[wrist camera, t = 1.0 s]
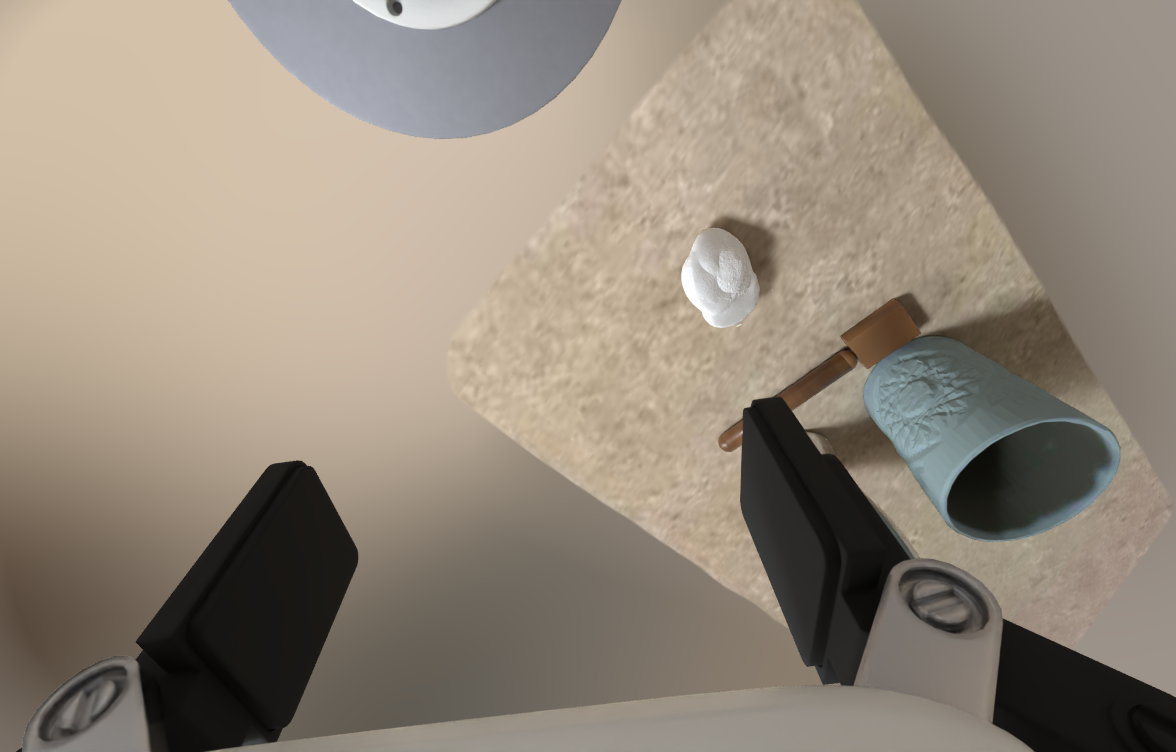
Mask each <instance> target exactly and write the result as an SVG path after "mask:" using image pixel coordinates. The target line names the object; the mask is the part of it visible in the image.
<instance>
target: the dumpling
mask: <svg viewBox="0 0 1176 752" xmlns="http://www.w3.org/2000/svg"><path fill="white" fill-rule="evenodd" d="M751 267H752V266H751V264H750V261H749V257H748V255H747V252H746V249H745V248H744V246H743V245H742V243H741V242H740V241H739V240H738V239H737V238H736V237H734V236H733V235H732V234H731V233H729V232H727V231H725V230H723V229H720V228H708V229H705V230H703V231H702V232H701V233H700V234H699V235H698V236H697V238H696V240H695V242H694V244H693V246H692V249H691V253H690V255H689V257H688V258H687V259H686V261H685V263H684V265H683V267H682V275H681V277H682V284H683V288H684V291H685V293H686V295H687V297H688V298H689V300H690V301H691V302H692V303H693V304H694V305H695V306H696V307H697V308H698V309H700V310H701V311H702V313H703V316H704V318H705V319H706V321H707V322H708V323H709V324H711V325H712V326H714V327H719V328H724V327H729V326H732V325H734V324H736V323H738V322H740V321H742V320H743V319H744V318H745V317H746V316H747V315H748V314H749V313H751V311H752V310H753V308H754V306H755V305H756V303H757V300H758V296H759V290H760V288H759V284H758V281H757V277H756V274H755V273H754V272H753V271H752V268H751ZM772 290H773V289H772ZM740 325H743V324H739V325H737V326H736V327H738V326H740Z"/></svg>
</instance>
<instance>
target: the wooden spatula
mask: <svg viewBox="0 0 1176 752" xmlns="http://www.w3.org/2000/svg"><path fill="white" fill-rule="evenodd" d="M920 333H921V332H920V331H919V329H918V328H917V326H916V325H915V323H914V322H913V320H912V319H911V317H910V316H909V314H908V313H907V311H906V310H905V308H904V307H903V305H902V304H900V303H899V302H897V301H896V300H894V299H892V300H890V301H889V302H888V303H886V304H885V305H883V306H882V307H881V308H879V309H878V310H876V311H875V312H874V313H872V314H871V315H869V316H868V317H867V318H865V319H864V320H862V321H861V322H860V323H858V324H857V325H855V326H854V327H853V328H851V329H850V330H848V331H847V332H846V333H844V334H843V335H841V338H842V340H843V341H844V342H845V344H846V345H847V346H848V347H849V349H850V350H851V351H852V352H851V351H848V350H844V351H841V352H839V353H837V354H836V355H834V356H833V357H832V358H830V359H829V360H827V361H826V362H824V363H823V364H822V365H820V366H819V367H817V368H816V369H815V370H813V371H812V372H810V373H809V374H807V375H806V376H805V377H803V378H802V379H800V380H799V381H797V382H796V383H795V384H793V385H792V386H790V387H789V388H788V389H786V390H785V391H783V392H782V393H780V394H779V395H778V396H776V397H782V398H783V399H784V401H785V402H786V403H787V405H788V406H789V408H790V409H791V411H792V410H794V409H795V408H797V407H798V406H800V405H801V404H802V403H804V402H805V401H807V400H808V399H810V398H811V397H813V396H814V395H816V394H817V393H819V392H820V391H821V390H823V389H824V388H826V387H827V386H829V385H830V384H832V383H833V382H835V381H836V380H838V379H839V378H840V377H842V376H843V375H845V374H846V373H848V372H849V371H851V370H852V369H853V368H855V366H856V365H857V359H858V361H859V362H860V363H861V364H862V365H863V366H864V367H865V368H866V369H869V368H870V367H872V366H873V365H875V364H876V363H878V362H879V361H881V360H882V359H884V358H885V357H887V356H888V355H889V354H891V353H892V352H894V351H895V350H897V349H898V348H900V347H901V346H903V345H904V344H906V343H907V342H909V341H910V340H912V339H913V338H915V337H916V336H918V335H919V334H920ZM742 428H743V420H742V421H741V422H739V423H738V424H736V425H735V426H733V427H732V428H731V429H729V430H728V431H726V432H725V433H724V434H722V435H721V436H720V438H719V441H718V443H719V446H720V448H721V449H722V450H724V451H726V452H731V451H734V450H735V449H737V448H738V447H740V446H741V445H742Z"/></svg>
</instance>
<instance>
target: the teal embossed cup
mask: <svg viewBox="0 0 1176 752" xmlns="http://www.w3.org/2000/svg"><path fill="white" fill-rule="evenodd" d="M863 397H864V403H865V406H866V409H867V411H868V413H869V414H870V416H871V417H872V419H873V420H874V421H875V423H876V424H877V426H878V427H879V428H880V430H881V431H882V432H883V433H884V434H886V435H887V436H888V437H889V439H890V441H891V442H892V444H893V446H894V447H895V449H896V451H897V453H898V455H899V456H900V457H902V458H903V459H904V460H905V461H906V462H907V464H908V467H909V469H910V471H911V472H912V474H913V476H914V477H915V479H916V480H917V482H918V483H919V484H920V486H921V488H922V489H923V491H924V492H925V493H926V495H927V496H928V498H929V499H930V500H931V502H932V503H933V505H934V506H935V507H936V509H937V510H938V512H939V513H940V515H941V516H942V518H943V519H944V521H945V522H946V524H947V525H948V526H949V527H950V528H952V529H953V530H955V531H956V532H957V533H960V534H962V535H964V536H967V537H969V538H971V539H974V540H981V541H988V542H1000V541H1011V540H1017V539H1022V538H1026V537H1029V536H1033V535H1036V534H1039V533H1042V532H1044V531H1047V530H1049V529H1051V528H1053V527H1056V526H1058V525H1060V524H1062V523H1064V522H1066V521H1068V520H1069V519H1071V518H1072V517H1074V516H1076V515H1077V514H1079V513H1080V512H1081V511H1083V510H1084V509H1085V508H1087V507H1088V506H1089V505H1090V504H1092V503H1093V502H1094V501H1095V500H1096V499H1097V498H1098V497H1099V496H1100V495H1101V494H1102V492H1103V491H1104V490H1105V489H1106V488H1107V487H1108V485H1109V484H1110V482H1111V481H1112V479H1113V477H1114V476H1115V474H1116V472H1117V469H1118V465H1119V462H1120V446H1119V443H1118V441H1117V439H1116V437H1115V435H1114V433H1113V432H1112V431H1111V430H1110V429H1108V428H1107V427H1106V426H1104V425H1102V424H1100V423H1099V422H1097V421H1095V420H1094V419H1092V418H1090V417H1089V416H1087V415H1085V414H1084V413H1082V412H1080V411H1079V410H1077V409H1075V408H1073V407H1071V406H1069V405H1068V404H1066V403H1064V402H1062V401H1061V400H1059V399H1058V398H1056V397H1054V396H1053V395H1051V394H1049V393H1048V392H1046V391H1044V390H1043V389H1041V388H1039V387H1038V386H1036V385H1034V384H1032V383H1031V382H1029V381H1027V380H1025V379H1024V378H1022V377H1021V376H1018V375H1016V374H1011V373H1010V372H1009V371H1008V370H1007V369H1006V368H1005V367H1003V366H1001V365H1000V364H998V363H996V362H994V361H992V360H991V359H989V358H987V357H985V356H983V355H981V354H980V353H978V352H976V351H974V350H972V349H971V348H970V347H968V346H966V345H965V344H963V343H961V342H959V341H957V340H954V339H951V338H947V337H942V336H929V337H923V338H919V339H915V340H912V341H909V342H907V343H906V344H904V345H903V346H901V347H900V348H898V349H897V350H895V351H894V352H892V353H891V354H889V355H888V356H887V357H885V358H884V359H882V360H881V361H880V362H879V363H878V364H877V365H876V366H875V367H874V369H873V370H872V372H871V373H870V375H869V377H868V379H867V381H866V384H865V387H864V396H863Z"/></svg>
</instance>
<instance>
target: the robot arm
mask: <svg viewBox="0 0 1176 752" xmlns="http://www.w3.org/2000/svg"><path fill="white" fill-rule="evenodd" d="M353 1H354V2H355V3H356V4H358V5H360V6H361V7H363V8H364V9H366V10H368V11H369V12H371V13H372V14H374V15H376V16H377V17H380V18H382V19H385V20H387V21H389V22H392V23H395V24H397V25H400V26H404V27H408V28H413V29H424V30H439V29H445V28H451V27H456V26H459V25H461V24H463V23H466V22H468V21H470V20H473V19H475V18H476V17H478V16H479V15H480V14H482V13H483V12H484V11H486V10H487V9H488V8H490V7H491V6H492V5H493V4H494V3H495V2H496V1H497V0H353ZM398 2H399V3H401V5H402V12H401V13H397V12H396V10H395V4H396V3H398ZM740 503H741V509H742V513H743V517H744V519H745V522H746V524H747V526H748V529H749V531H750V534H751V536H752V539H753V541H754V543H755V546H756V548H757V551H758V553H759V556H760V558H761V561H762V563H763V565H764V568H765V570H766V573H767V575H768V578H769V580H770V582H771V585H772V587H773V590H774V592H775V595H776V597H777V599H778V602H779V604H780V607H781V609H782V612H783V614H784V617H785V619H786V621H787V624H788V626H789V629H790V631H791V634H792V636H793V638H794V641H795V643H796V646H797V648H798V651H799V653H800V655H801V658H802V660H803V662H804V663H805V665H806V666H807V667H809V666H815V667H816V670H817V672H818V674H819V677H820V679H821V681H822V683H823V685H808V686H807V685H805V686H782V687H769V688H758V689H746V690H735V691H724V692H714V693H703V694H693V695H682V696H673V697H664V698H654V699H646V700H636V701H628V702H618V703H609V704H600V705H591V706H582V707H573V708H564V709H555V710H546V711H538V712H529V713H520V714H511V715H502V716H494V717H486V718H476V719H468V720H459V721H450V722H442V723H434V724H425V725H416V726H408V727H400V728H390V729H382V730H374V731H365V732H357V733H349V734H340V735H333V736H325V737H316V738H308V739H299V740H291V741H283V742H277V740H278V738H279V735H280V733H281V731H282V729H283V728H284V727H286V726H287V725H288V724H289V723H290V722H291V720H292V718H293V716H294V714H295V712H296V709H297V707H298V705H299V702H300V700H301V697H302V695H303V693H304V690H305V688H306V686H307V683H308V681H309V678H310V676H311V674H312V671H313V669H314V667H315V664H316V661H317V660H318V657H319V655H320V652H321V650H322V648H323V645H324V643H325V641H326V638H327V636H328V633H329V631H330V628H331V626H332V624H333V622H334V619H335V617H336V614H337V612H338V610H339V607H340V605H341V602H342V600H343V597H344V595H345V593H346V591H347V588H348V586H349V584H350V581H351V579H352V576H353V574H354V572H355V569H356V567H357V564H358V551H357V548H356V546H355V544H354V542H353V540H352V538H351V537H350V535H349V533H348V531H347V529H346V527H345V525H344V524H343V522H342V520H341V518H340V516H339V515H338V512H337V510H336V509H335V507H334V505H333V503H332V501H331V500H330V497H329V496H328V494H327V492H326V490H325V488H324V486H323V484H322V483H321V481H320V479H319V477H318V475H317V473H316V471H315V470H314V468H312V467H311V466H307V465H306V464H305V463H304V462H302V461H291V462H284V463H275V464H272V465H270V466H269V467H268V468H267V469H266V470H265V471H264V473H263V474H262V475H261V477H260V478H259V479H258V480H257V482H256V483H255V484H254V486H253V487H252V488H251V490H250V491H249V492H248V494H247V495H246V496H245V498H244V499H243V500H242V502H241V503H240V504H239V506H238V507H237V508H236V510H235V511H234V512H233V514H232V515H231V516H230V518H229V519H228V520H227V521H226V523H225V524H224V526H223V527H222V528H221V529H220V531H219V532H218V533H217V535H216V536H215V537H214V539H213V540H212V541H211V543H210V544H209V545H208V547H207V548H206V549H205V551H204V552H203V553H202V555H201V556H200V557H199V559H198V560H197V561H196V563H195V564H194V565H193V566H192V568H191V569H190V570H189V572H188V573H187V574H186V576H185V577H184V578H183V580H182V581H181V582H180V584H179V585H178V586H177V588H176V589H175V591H174V592H173V593H172V594H171V596H170V597H169V598H168V600H167V601H166V602H165V604H164V605H163V606H162V608H161V609H160V610H159V611H158V613H157V614H156V616H155V617H154V618H153V619H152V621H151V622H150V623H149V625H148V626H147V627H146V629H145V630H144V631H143V633H142V634H141V635H140V637H139V638H138V639H137V641H136V643H137V644H138V645H139V646H140V647H141V648H142V649H143V651H142V652H141V653H140V655H139V656H138V657H137V659H133V658H131V657H129V656H114V657H111V658H108V659H105V660H101V661H99V662H97V663H95V664H93V665H91V666H89V667H87V668H85V669H83V670H82V671H80V672H79V673H77V674H76V675H74V676H73V677H71V678H70V679H68V680H67V681H66V682H65V683H63V684H62V685H61V686H60V687H59V688H58V689H56V690H55V691H54V692H53V693H52V694H51V695H50V696H49V697H48V698H47V699H46V700H45V701H44V702H43V703H42V705H41V706H40V707H39V708H38V709H37V710H36V712H35V714H34V715H33V717H32V718H31V720H30V721H29V723H28V725H27V727H26V730H25V734H24V737H23V744H22V748H21V749H19V750H18V751H16V752H1176V697H1174V696H1172V695H1170V694H1168V693H1166V692H1164V691H1161V690H1159V689H1157V688H1155V687H1152V686H1150V685H1148V684H1146V683H1144V682H1141V681H1139V680H1137V679H1135V678H1133V677H1130V676H1128V675H1126V674H1124V673H1122V672H1120V671H1117V670H1115V669H1113V668H1111V667H1109V666H1106V665H1104V664H1102V663H1100V662H1098V661H1095V660H1093V659H1091V658H1089V657H1087V656H1084V655H1082V654H1080V653H1078V652H1076V651H1073V650H1071V649H1069V648H1067V647H1065V646H1062V645H1060V644H1058V643H1056V642H1054V641H1051V640H1049V639H1047V638H1045V637H1043V636H1040V635H1038V634H1036V633H1034V632H1032V631H1029V630H1027V629H1025V628H1023V627H1021V626H1018V625H1016V624H1014V623H1012V622H1009V621H1007V620H1005V619H1003V618H1002V611H1001V608H1000V606H999V604H998V602H997V600H996V599H995V597H994V595H993V594H992V593H991V592H990V591H989V590H988V589H987V588H986V587H985V585H984V584H983V583H982V582H980V581H979V580H978V579H976V578H975V577H973V576H972V575H970V574H969V573H968V572H966V571H964V570H962V569H960V568H958V567H956V566H953V565H951V564H949V563H945V562H942V561H938V560H934V559H923V558H915V559H910V557H909V556H908V555H907V553H906V552H905V550H904V549H903V548H902V546H901V545H900V543H899V542H898V541H897V539H896V538H895V537H894V535H893V534H892V532H891V531H890V530H889V528H888V527H887V525H886V524H885V523H884V521H883V520H882V519H881V517H880V516H879V514H878V513H877V512H876V510H875V509H874V507H873V506H872V505H871V503H870V502H869V500H868V499H867V498H866V496H865V495H864V494H863V492H862V491H861V489H860V488H859V487H858V485H857V484H856V482H855V481H854V480H853V478H852V477H851V476H850V474H849V473H848V471H847V470H846V469H845V467H844V466H843V464H842V463H841V462H840V460H839V459H838V458H837V457H836V456H835V455H833V454H831V453H828V454H821V453H820V452H819V450H818V449H817V447H816V446H815V444H814V443H813V441H812V440H811V439H810V437H809V436H808V434H807V433H806V431H805V430H804V428H803V427H802V425H801V424H800V422H799V421H798V420H797V418H796V417H795V415H794V414H793V412H792V411H791V409H790V408H789V406H788V405H787V403H786V402H785V401H784V399H783V398H782V397H772V398H765V399H757V400H753V401H752V404H751V407H749V408H744V410H743V428H742V460H741V492H740ZM834 683H840V684H841V685H825V684H834Z"/></svg>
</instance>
